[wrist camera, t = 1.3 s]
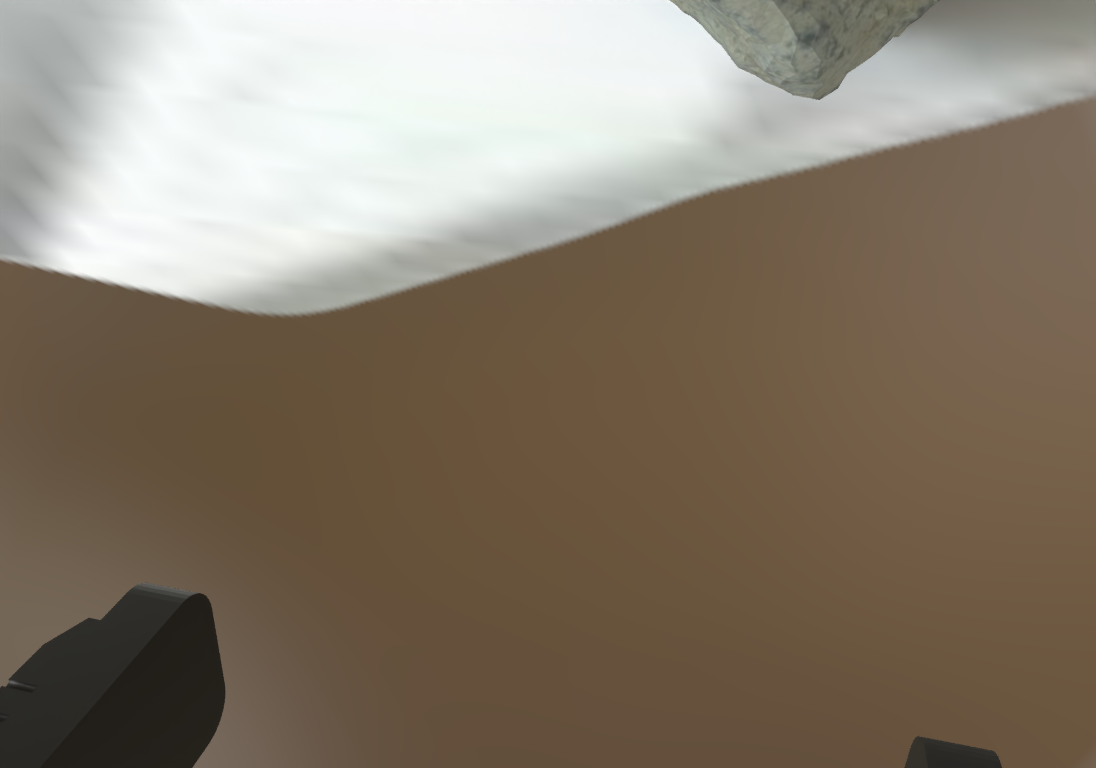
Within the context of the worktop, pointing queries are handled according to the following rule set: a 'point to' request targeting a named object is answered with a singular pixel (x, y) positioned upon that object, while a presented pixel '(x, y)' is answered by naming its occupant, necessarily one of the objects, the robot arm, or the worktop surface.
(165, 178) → the worktop surface
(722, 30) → the decorative stone
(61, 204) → the worktop surface
